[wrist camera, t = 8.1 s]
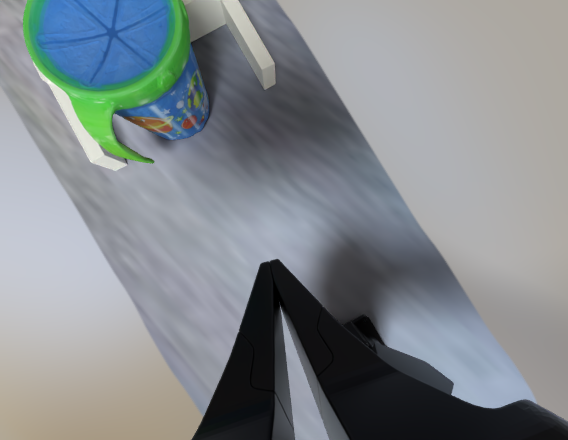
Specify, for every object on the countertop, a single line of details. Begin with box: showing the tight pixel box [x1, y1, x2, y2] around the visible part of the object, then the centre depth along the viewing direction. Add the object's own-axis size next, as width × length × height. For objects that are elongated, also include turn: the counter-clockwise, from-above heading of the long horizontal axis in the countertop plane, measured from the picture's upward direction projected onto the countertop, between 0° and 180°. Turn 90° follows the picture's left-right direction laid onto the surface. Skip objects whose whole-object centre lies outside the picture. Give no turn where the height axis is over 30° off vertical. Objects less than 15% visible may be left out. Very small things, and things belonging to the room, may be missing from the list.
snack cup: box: [23, 0, 209, 163], centre depth 18 cm, size 16×10×10 cm
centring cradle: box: [33, 0, 276, 171], centre depth 20 cm, size 11×21×7 cm, turn 120°
